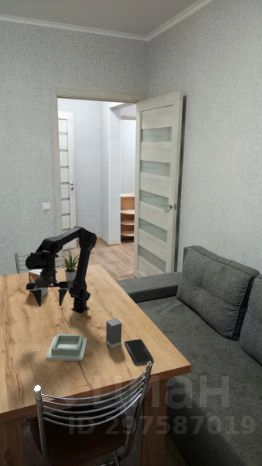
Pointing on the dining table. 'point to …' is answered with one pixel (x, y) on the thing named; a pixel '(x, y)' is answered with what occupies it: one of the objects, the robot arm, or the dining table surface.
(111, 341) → the connector plug
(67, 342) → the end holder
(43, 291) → the small box
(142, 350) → the phone
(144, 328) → the dining table surface
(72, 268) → the house plant
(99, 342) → the dining table surface
